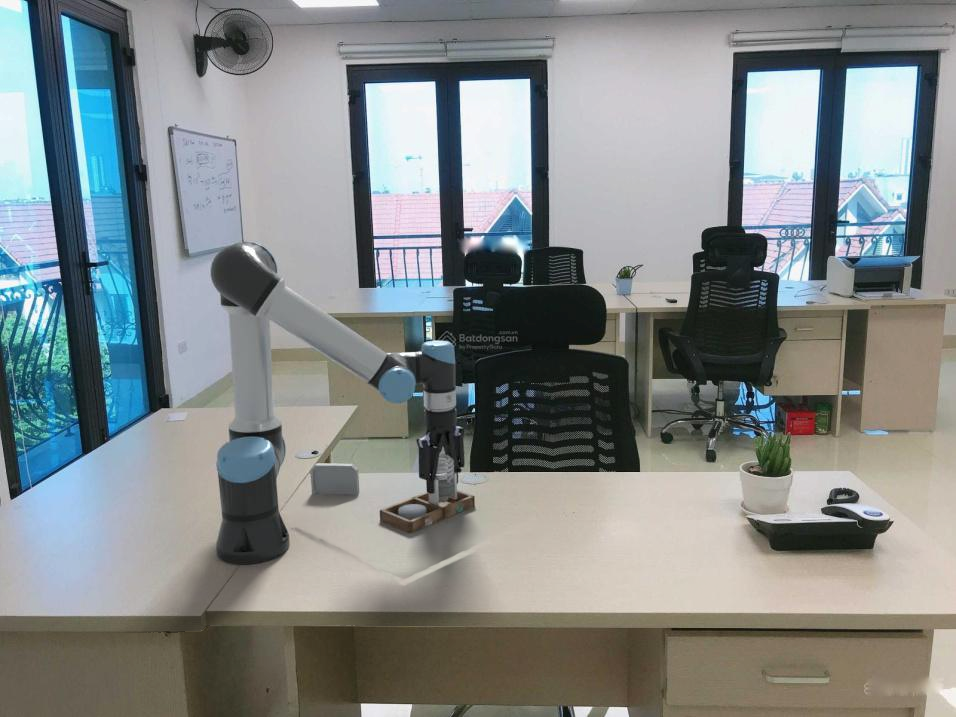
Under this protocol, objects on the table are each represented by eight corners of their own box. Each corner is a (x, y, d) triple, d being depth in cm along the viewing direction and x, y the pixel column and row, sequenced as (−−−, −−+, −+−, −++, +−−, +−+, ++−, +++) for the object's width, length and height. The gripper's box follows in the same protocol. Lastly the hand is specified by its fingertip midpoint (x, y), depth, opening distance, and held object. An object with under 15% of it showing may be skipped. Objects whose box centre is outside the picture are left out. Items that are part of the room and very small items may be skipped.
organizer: (411, 537, 170) (410, 522, 170) (380, 524, 178) (379, 509, 177) (475, 509, 185) (475, 496, 184) (444, 498, 192) (443, 485, 191)
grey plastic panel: (357, 495, 196) (356, 465, 194) (311, 494, 197) (309, 465, 195) (359, 492, 198) (357, 463, 196) (313, 491, 199) (312, 462, 197)
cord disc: (411, 527, 173) (411, 517, 173) (393, 519, 178) (392, 510, 177) (432, 518, 178) (432, 508, 177) (413, 511, 182) (413, 501, 182)
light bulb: (427, 504, 183) (425, 456, 181) (439, 496, 188) (437, 449, 186) (447, 508, 181) (446, 459, 178) (459, 500, 186) (458, 452, 183)
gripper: (421, 418, 171) (425, 517, 175) (479, 402, 184) (481, 494, 188) (399, 413, 176) (403, 508, 180) (456, 397, 189) (459, 486, 193)
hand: (443, 501), depth 184 cm, fingers closed on light bulb, 5 cm apart
